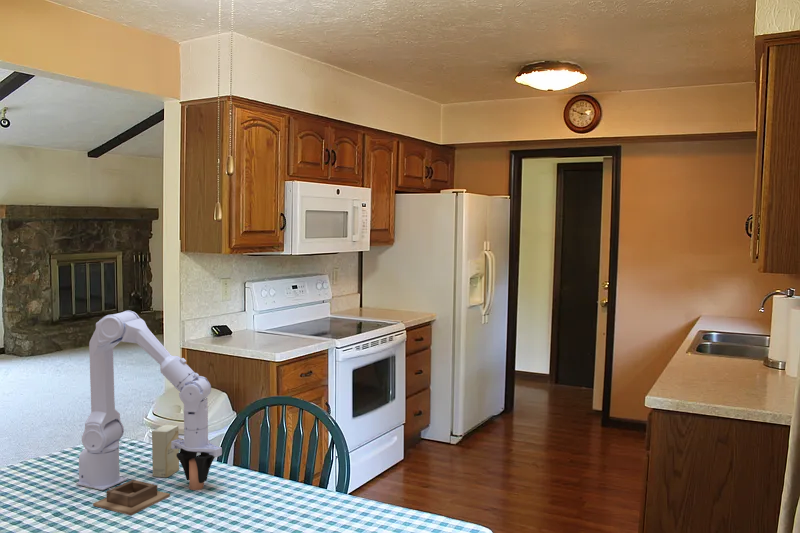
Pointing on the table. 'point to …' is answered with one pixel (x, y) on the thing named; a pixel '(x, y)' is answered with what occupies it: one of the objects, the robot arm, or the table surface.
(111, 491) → the holder
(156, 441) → the skincare box
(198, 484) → the peg
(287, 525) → the table surface
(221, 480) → the table surface
